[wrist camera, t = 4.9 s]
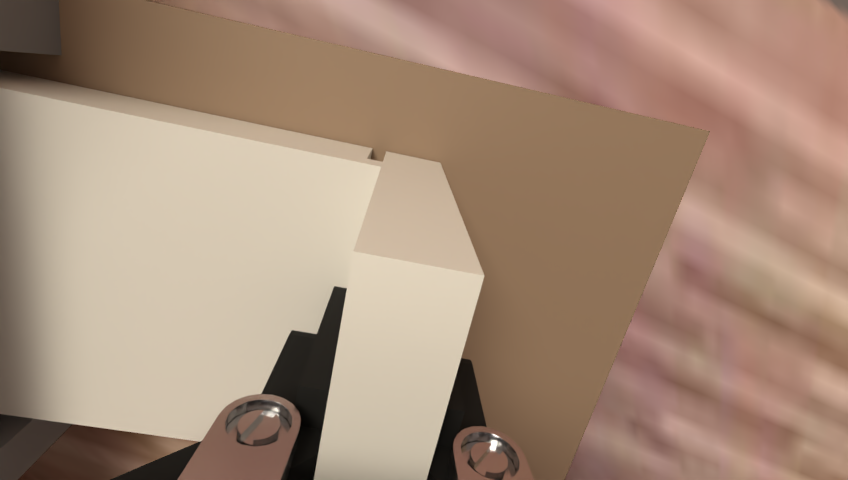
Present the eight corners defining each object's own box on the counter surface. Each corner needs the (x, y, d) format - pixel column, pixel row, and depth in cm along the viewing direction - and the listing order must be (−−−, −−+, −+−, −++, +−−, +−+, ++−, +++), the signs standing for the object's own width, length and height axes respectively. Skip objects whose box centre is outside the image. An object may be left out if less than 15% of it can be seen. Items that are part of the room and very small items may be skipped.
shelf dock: (699, 129, 13) (958, 171, 7) (557, 475, 18) (639, 689, 12) (-258, -93, 11) (-1198, -341, 4) (-142, 378, 15) (-528, 586, 9)
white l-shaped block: (440, 162, 13) (484, 275, 5) (384, 409, 16) (362, 707, 8) (-68, 55, 12) (-965, 5, 4) (-26, 346, 14) (-502, 636, 7)
